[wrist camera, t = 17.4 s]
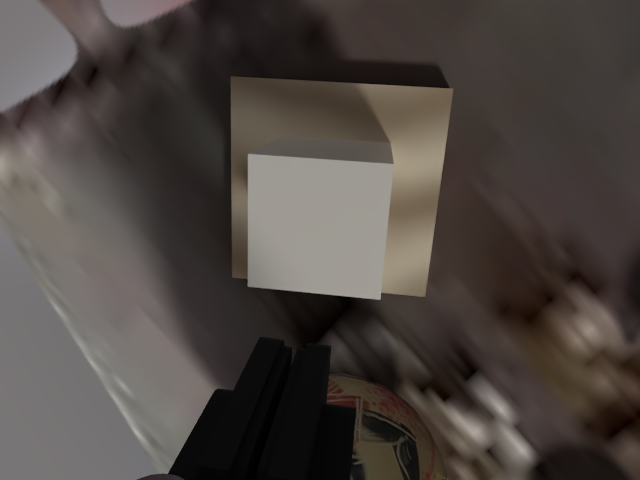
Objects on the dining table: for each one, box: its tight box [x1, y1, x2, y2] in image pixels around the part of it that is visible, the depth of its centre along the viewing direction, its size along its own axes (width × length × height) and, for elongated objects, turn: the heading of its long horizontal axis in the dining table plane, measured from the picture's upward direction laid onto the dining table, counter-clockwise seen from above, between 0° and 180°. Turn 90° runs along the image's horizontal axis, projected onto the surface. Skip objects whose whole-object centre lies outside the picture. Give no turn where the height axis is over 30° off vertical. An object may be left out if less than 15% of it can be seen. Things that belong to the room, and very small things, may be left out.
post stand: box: [231, 76, 453, 297], centre depth 29 cm, size 14×14×8 cm
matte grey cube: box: [248, 136, 394, 300], centre depth 28 cm, size 7×7×9 cm
